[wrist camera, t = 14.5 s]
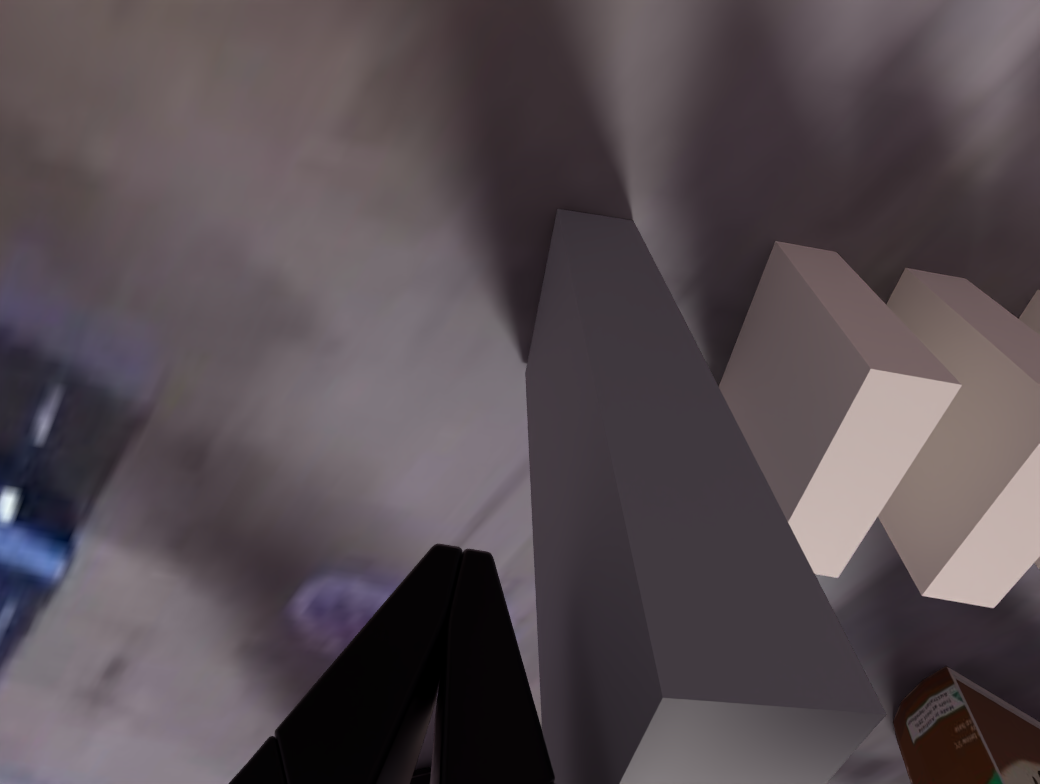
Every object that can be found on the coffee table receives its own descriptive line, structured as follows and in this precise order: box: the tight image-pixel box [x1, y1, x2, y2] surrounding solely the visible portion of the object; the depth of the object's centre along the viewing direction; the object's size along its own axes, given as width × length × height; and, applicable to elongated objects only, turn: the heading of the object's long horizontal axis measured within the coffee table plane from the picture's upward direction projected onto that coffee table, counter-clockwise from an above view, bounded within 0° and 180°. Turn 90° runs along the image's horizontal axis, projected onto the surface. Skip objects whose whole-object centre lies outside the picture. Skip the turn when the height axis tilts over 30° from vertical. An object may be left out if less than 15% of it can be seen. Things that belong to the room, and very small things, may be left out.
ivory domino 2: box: [878, 268, 1040, 608], centre depth 15 cm, size 2×5×6 cm, turn 171°
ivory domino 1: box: [719, 241, 962, 578], centre depth 15 cm, size 2×5×6 cm, turn 171°
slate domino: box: [525, 209, 887, 784], centre depth 12 cm, size 2×5×13 cm, turn 171°
